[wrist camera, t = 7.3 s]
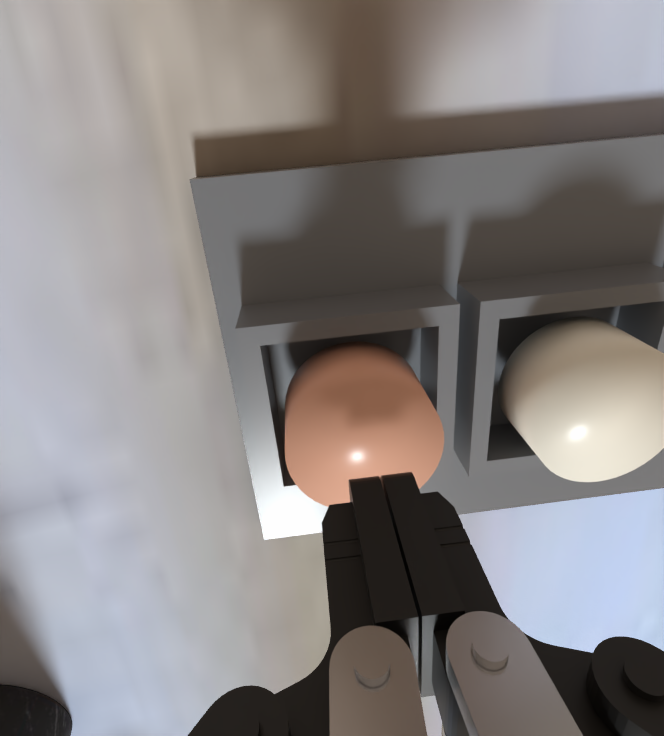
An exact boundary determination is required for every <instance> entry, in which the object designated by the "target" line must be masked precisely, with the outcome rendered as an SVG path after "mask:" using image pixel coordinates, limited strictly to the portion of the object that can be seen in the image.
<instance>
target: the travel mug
mask: <svg viewBox="0 0 664 736" xmlns="http://www.w3.org/2000/svg"><path fill="white" fill-rule="evenodd" d="M71 730H72V721H71V718H70V716H69V714H68V713H67V711H66V710H65V709H64V708H63V707H62V706H61V705H60V704H58V703H57V702H56V701H54V700H52V699H51V698H49V697H47V696H45V695H42V694H40V693H37V692H34V691H31V690H27V689H23V688H18V687H13V686H3V685H0V736H70V735H71Z"/></svg>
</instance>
